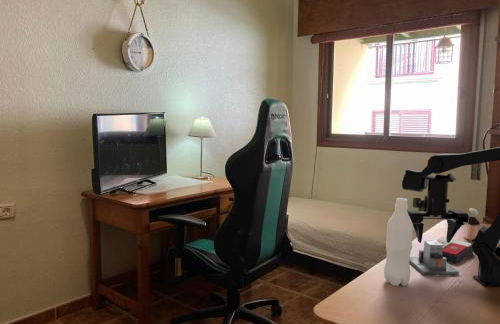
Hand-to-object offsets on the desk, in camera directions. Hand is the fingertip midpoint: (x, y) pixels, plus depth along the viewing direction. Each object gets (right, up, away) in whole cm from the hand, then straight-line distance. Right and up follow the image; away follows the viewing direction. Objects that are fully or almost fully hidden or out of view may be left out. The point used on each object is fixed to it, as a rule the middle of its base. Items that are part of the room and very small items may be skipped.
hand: (433, 242), depth 130 cm
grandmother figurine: (+27, -5, +29) cm, 41 cm away
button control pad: (+11, -7, +14) cm, 19 cm away
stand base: (0, -8, +1) cm, 8 cm away
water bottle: (-16, -10, -10) cm, 21 cm away
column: (0, -7, +1) cm, 7 cm away
